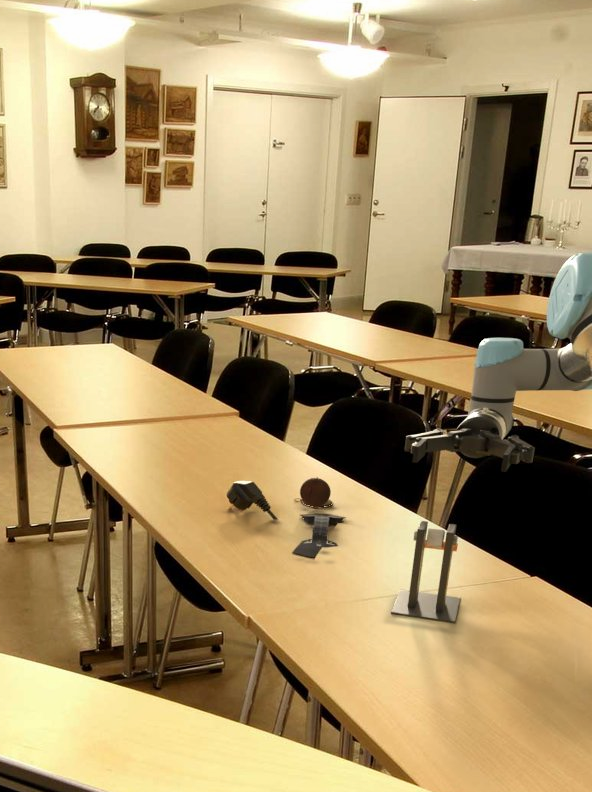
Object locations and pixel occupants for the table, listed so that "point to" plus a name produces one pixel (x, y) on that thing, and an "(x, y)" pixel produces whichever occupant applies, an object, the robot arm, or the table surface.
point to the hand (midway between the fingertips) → (459, 458)
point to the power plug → (247, 497)
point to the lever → (436, 540)
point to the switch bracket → (428, 603)
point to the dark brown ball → (315, 493)
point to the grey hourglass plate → (317, 534)
